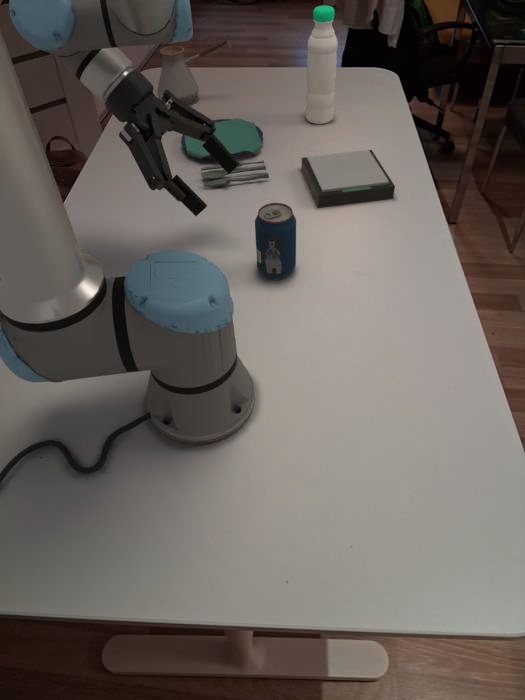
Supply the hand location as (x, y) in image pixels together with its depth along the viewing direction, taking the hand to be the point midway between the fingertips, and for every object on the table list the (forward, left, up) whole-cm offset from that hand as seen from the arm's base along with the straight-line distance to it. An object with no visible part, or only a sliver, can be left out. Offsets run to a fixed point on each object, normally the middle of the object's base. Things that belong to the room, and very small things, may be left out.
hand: (219, 189), depth 89 cm
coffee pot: (0, +73, -15) cm, 75 cm away
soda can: (+8, -5, -15) cm, 18 cm away
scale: (+28, +21, -14) cm, 38 cm away
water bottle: (+30, +53, -15) cm, 63 cm away
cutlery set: (+4, +40, -15) cm, 43 cm away
